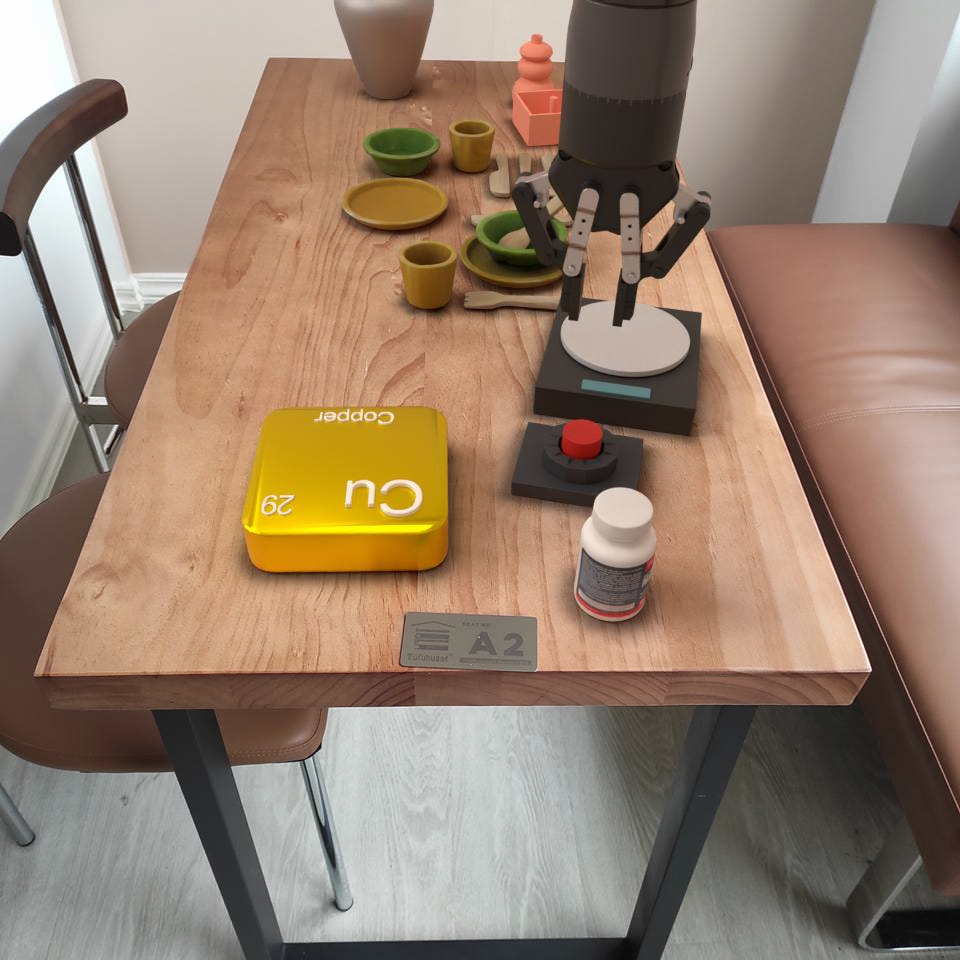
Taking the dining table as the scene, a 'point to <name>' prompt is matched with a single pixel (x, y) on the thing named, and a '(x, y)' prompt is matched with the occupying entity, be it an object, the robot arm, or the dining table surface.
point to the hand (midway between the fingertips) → (596, 317)
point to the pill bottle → (616, 555)
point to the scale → (622, 367)
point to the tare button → (581, 439)
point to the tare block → (573, 467)
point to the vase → (385, 41)
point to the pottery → (536, 95)
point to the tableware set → (413, 203)
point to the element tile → (349, 490)
